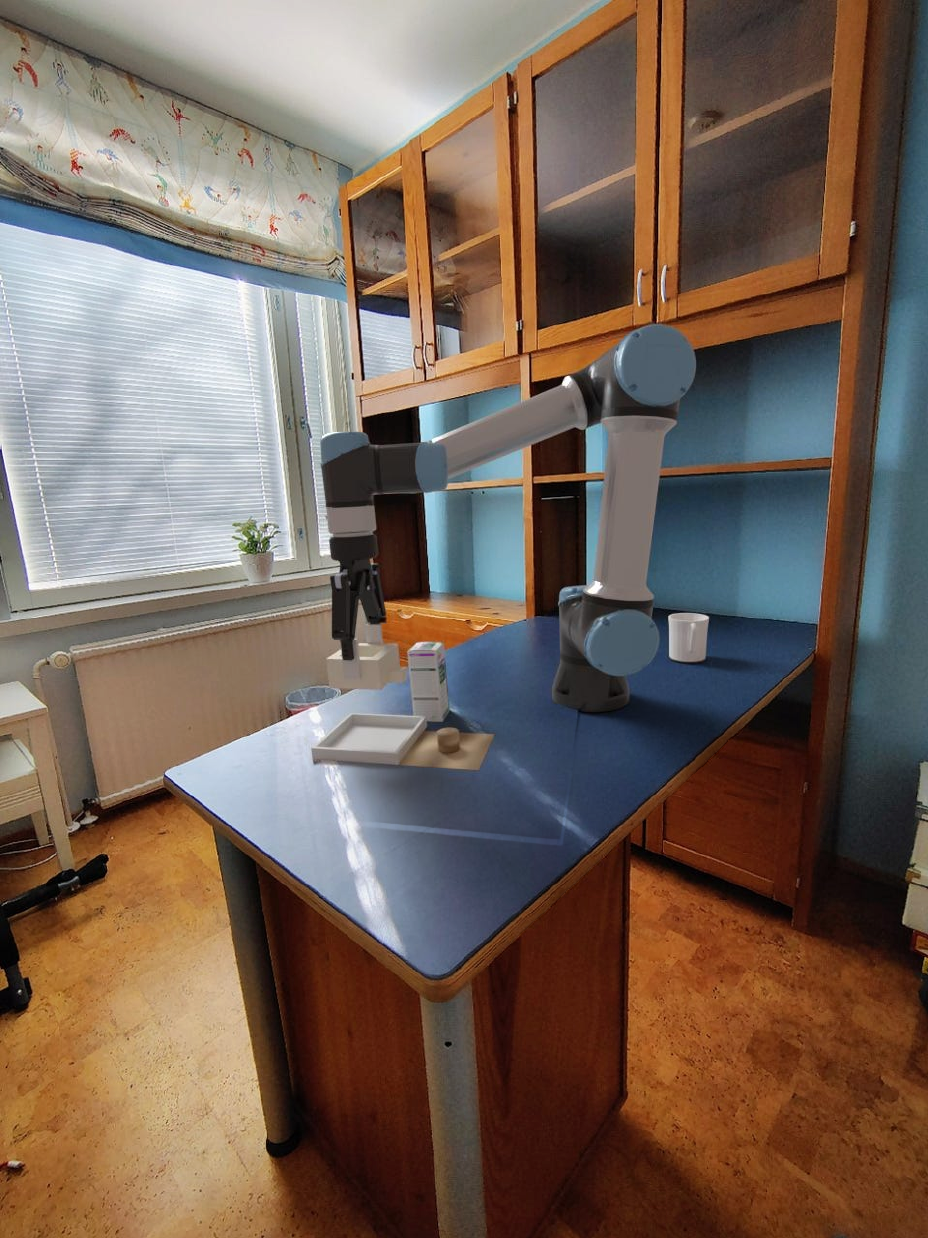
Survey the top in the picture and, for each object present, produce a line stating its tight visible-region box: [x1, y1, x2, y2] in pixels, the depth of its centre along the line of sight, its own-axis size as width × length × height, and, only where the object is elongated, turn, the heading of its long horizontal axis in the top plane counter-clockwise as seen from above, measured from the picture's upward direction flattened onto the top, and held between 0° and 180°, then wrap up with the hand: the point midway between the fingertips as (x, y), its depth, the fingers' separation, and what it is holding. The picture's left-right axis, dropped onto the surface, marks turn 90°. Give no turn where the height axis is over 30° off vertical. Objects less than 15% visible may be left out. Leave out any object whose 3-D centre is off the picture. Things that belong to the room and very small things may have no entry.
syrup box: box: [406, 641, 450, 723], centre depth 108 cm, size 6×6×14 cm
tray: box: [311, 712, 428, 766], centre depth 99 cm, size 15×15×2 cm
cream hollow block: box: [325, 642, 408, 691], centre depth 96 cm, size 9×12×5 cm
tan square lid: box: [398, 727, 496, 771], centre depth 95 cm, size 13×13×4 cm
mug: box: [667, 612, 710, 665], centre depth 134 cm, size 11×9×10 cm
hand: (365, 668), depth 96 cm, fingers closed on cream hollow block, 9 cm apart
